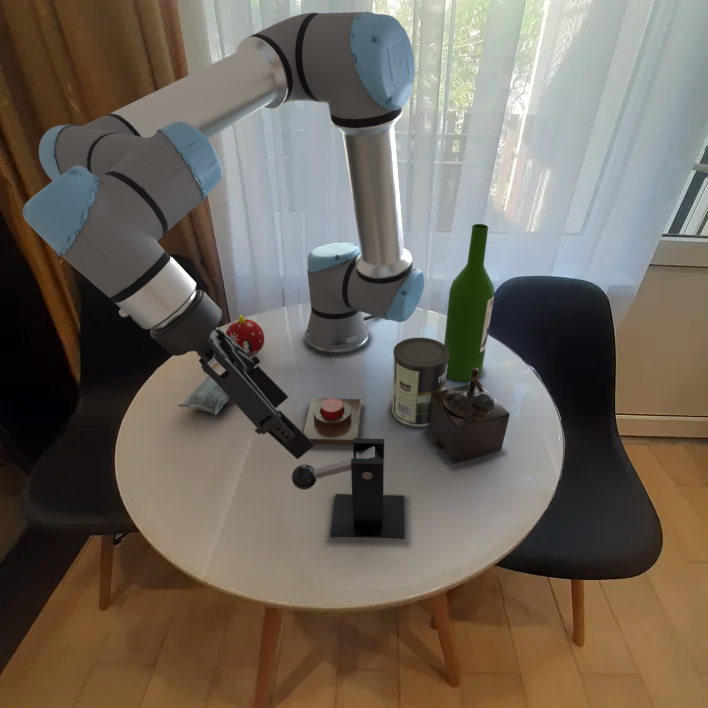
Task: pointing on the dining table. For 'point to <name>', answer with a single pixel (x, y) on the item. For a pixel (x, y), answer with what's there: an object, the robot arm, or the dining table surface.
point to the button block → (333, 423)
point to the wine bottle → (469, 311)
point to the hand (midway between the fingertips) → (292, 424)
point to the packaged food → (207, 398)
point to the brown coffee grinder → (467, 421)
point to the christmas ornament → (246, 335)
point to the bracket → (368, 500)
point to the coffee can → (417, 378)
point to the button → (332, 408)
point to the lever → (327, 469)
